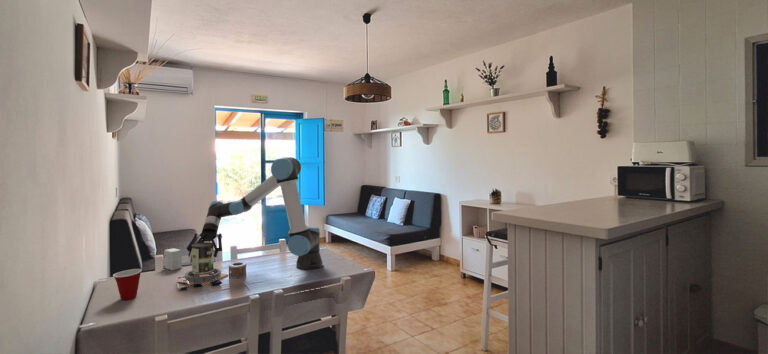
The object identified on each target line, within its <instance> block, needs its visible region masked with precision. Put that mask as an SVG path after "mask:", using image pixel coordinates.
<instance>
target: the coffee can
mask: <svg viewBox="0 0 768 354" xmlns="http://www.w3.org/2000/svg"><path fill="white" fill-rule="evenodd" d="M213 245H214V244H213V243H212V242H208V241H207V242H202V243H196V244H193V245H192V263H191V271H192V273H194V274H206V273H210V272H212V271H213V270H214V268H215V267H214V263H213V264H211V262H210V260H211V256H212V253H213V250H214V246H213Z"/></svg>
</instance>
